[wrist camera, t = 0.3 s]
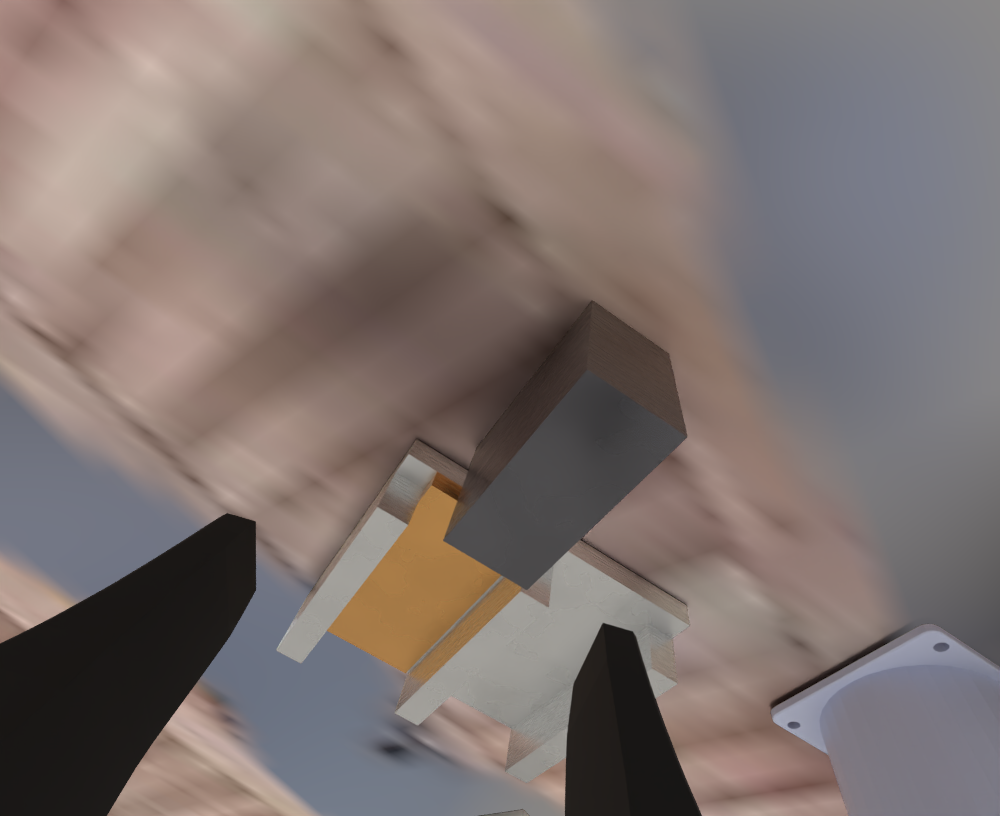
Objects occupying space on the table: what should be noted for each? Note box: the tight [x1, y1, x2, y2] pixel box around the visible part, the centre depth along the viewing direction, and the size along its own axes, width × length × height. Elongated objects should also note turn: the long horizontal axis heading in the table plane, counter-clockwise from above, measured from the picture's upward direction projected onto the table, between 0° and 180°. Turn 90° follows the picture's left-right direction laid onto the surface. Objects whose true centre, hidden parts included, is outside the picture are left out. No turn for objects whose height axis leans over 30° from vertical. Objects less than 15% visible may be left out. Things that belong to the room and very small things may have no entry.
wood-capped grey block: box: [443, 301, 687, 590], centre depth 18 cm, size 3×7×5 cm, turn 148°
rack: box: [276, 439, 690, 783], centre depth 24 cm, size 13×11×3 cm
